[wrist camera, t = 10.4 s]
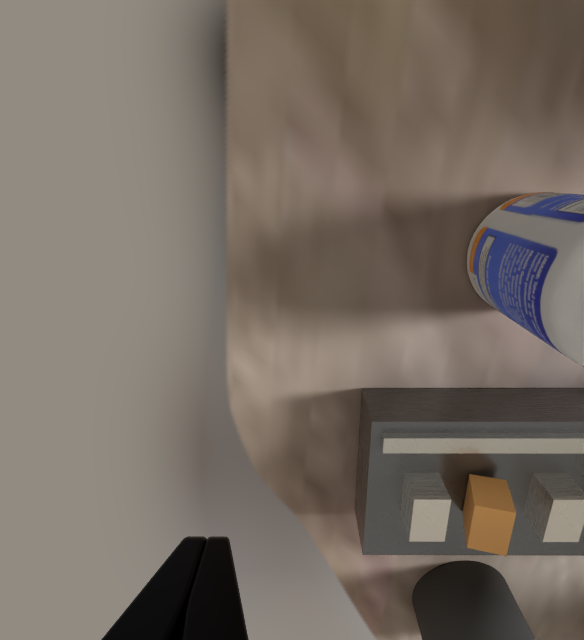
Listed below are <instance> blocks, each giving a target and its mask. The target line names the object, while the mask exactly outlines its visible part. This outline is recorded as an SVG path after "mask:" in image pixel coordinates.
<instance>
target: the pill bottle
mask: <svg viewBox="0 0 584 640" xmlns="http://www.w3.org/2000/svg"><path fill="white" fill-rule="evenodd" d="M467 270H468V275H469V278H470V281H471V283H472V285H473V287H474V289H475V291H476V292H477V293H478V295H479V296H480V297H481V298H482V299H483V300H484V301H486V302H487V303H488V304H489V305H491V306H492V307H494V308H495V309H497V310H498V311H500V312H501V313H503V314H504V315H505V316H507V317H508V318H510V319H512V320H513V321H515V322H516V323H518V324H519V325H521V326H522V327H524V328H525V329H526V330H528V331H529V332H531V333H533V334H534V335H535V336H537V337H538V338H540V339H541V340H543V341H544V342H546V343H547V344H549V345H550V346H552V347H553V348H555V349H556V350H557V351H559V352H560V353H562V354H563V355H565V356H567V357H568V358H570V359H571V360H573V361H575V362H576V363H578V364H580V365H581V366H584V195H579V194H566V193H554V192H540V193H530V194H525V195H521V196H518V197H515V198H513V199H511V200H509V201H507V202H505V203H503V204H502V205H500V206H498V207H497V208H496V209H495V210H493V211H492V212H491V213H490V214H489V215H488V216H487V217H486V218H485V219H484V220H483V221H482V222H481V224H480V225H479V226H478V228H477V229H476V231H475V233H474V234H473V237H472V239H471V242H470V245H469V248H468V254H467Z"/></svg>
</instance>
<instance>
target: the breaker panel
mask: <svg viewBox="0 0 584 640" xmlns="http://www.w3.org/2000/svg"><path fill="white" fill-rule="evenodd" d="M469 474H473V475H478V476H484V477H490V478H496V479H502V480H507V483H508V486H509V490H510V493H511V497H512V500H513V503H514V507H515V510H516V517H515V521H514V526H513V530H512V534H511V539H510V543H509V547H508V552H507V555H584V388H362V397H361V414H360V431H359V448H358V466H357V483H356V500H355V513H356V519H357V524H358V530H359V536H360V542H361V548H362V553H363V555H499V554H494V553H489V552H485V551H480V550H475V549H470V548H467V544H466V536H465V529H464V522H463V515H462V513H463V507H464V502H465V496H466V490H467V484H468V478H469Z"/></svg>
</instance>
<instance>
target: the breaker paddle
mask: <svg viewBox="0 0 584 640" xmlns="http://www.w3.org/2000/svg"><path fill="white" fill-rule="evenodd" d="M462 515H463V522H464V529H465V536H466V544H467V548H470V549H475V550H480V551H485V552H489V553H494V554H499V555H504V556H507V552H508V547H509V543H510V539H511V534H512V530H513V526H514V521H515V517H516V510H515V507H514V503H513V500H512V497H511V493H510V490H509V486H508V483H507V480H502V479H496V478H490V477H484V476H478V475H473V474H469V478H468V484H467V490H466V496H465V502H464V507H463V513H462Z"/></svg>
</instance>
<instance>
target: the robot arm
mask: <svg viewBox="0 0 584 640" xmlns="http://www.w3.org/2000/svg"><path fill="white" fill-rule="evenodd" d="M102 640H248V635H247V630H246V625H245V619H244V614H243V609H242V604H241V599H240V593H239V588H238V583H237V578H236V572H235V567H234V562H233V557H232V551H231V546H230V542H229V539H228V537H209V538H208V539H206V538H205V537H186V538H184V539H183V540H182V541H181V543H180V544H179V545H178V546H177V547H176V549H175V550H174V551H173V552H172V554H171V555H170V556H169V557H168V559H167V560H166V561H165V562H164V564H163V565H162V566H161V567H160V568H159V570H158V571H157V572H156V573H155V575H154V576H153V577H152V578H151V580H150V581H149V582H148V583H147V585H146V586H145V587H144V588H143V589H142V591H141V592H140V593H139V594H138V596H137V597H136V598H135V599H134V600H133V602H132V603H131V604H130V606H129V607H128V608H127V609H126V610H125V611H124V613H123V614H122V615H121V616H120V618H119V619H118V620H117V621H116V622H115V624H114V625H113V626H112V627H111V629H110V630H109V631H108V632H107V634H106V635H105V636H104V637H103V638H102Z"/></svg>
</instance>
